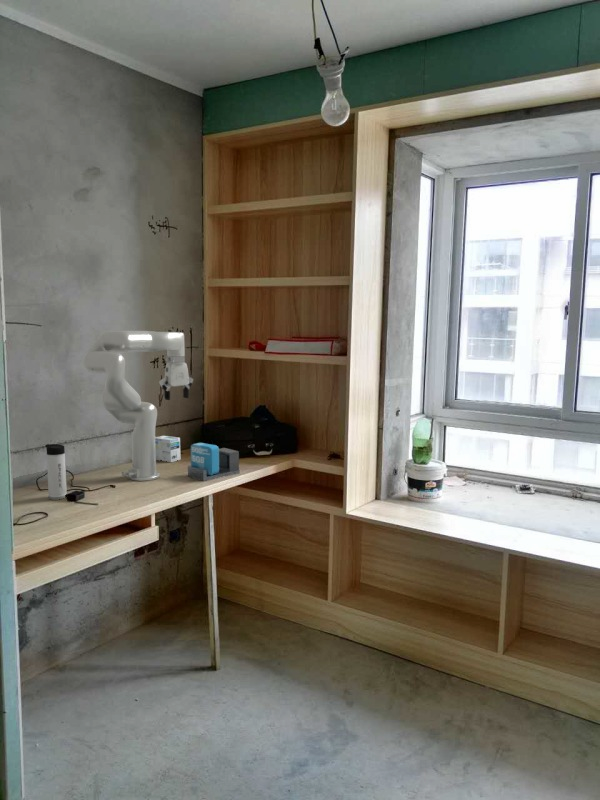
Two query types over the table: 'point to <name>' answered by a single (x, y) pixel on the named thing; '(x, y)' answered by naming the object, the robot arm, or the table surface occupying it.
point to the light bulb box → (167, 448)
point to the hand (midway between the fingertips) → (176, 398)
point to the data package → (205, 457)
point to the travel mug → (56, 471)
